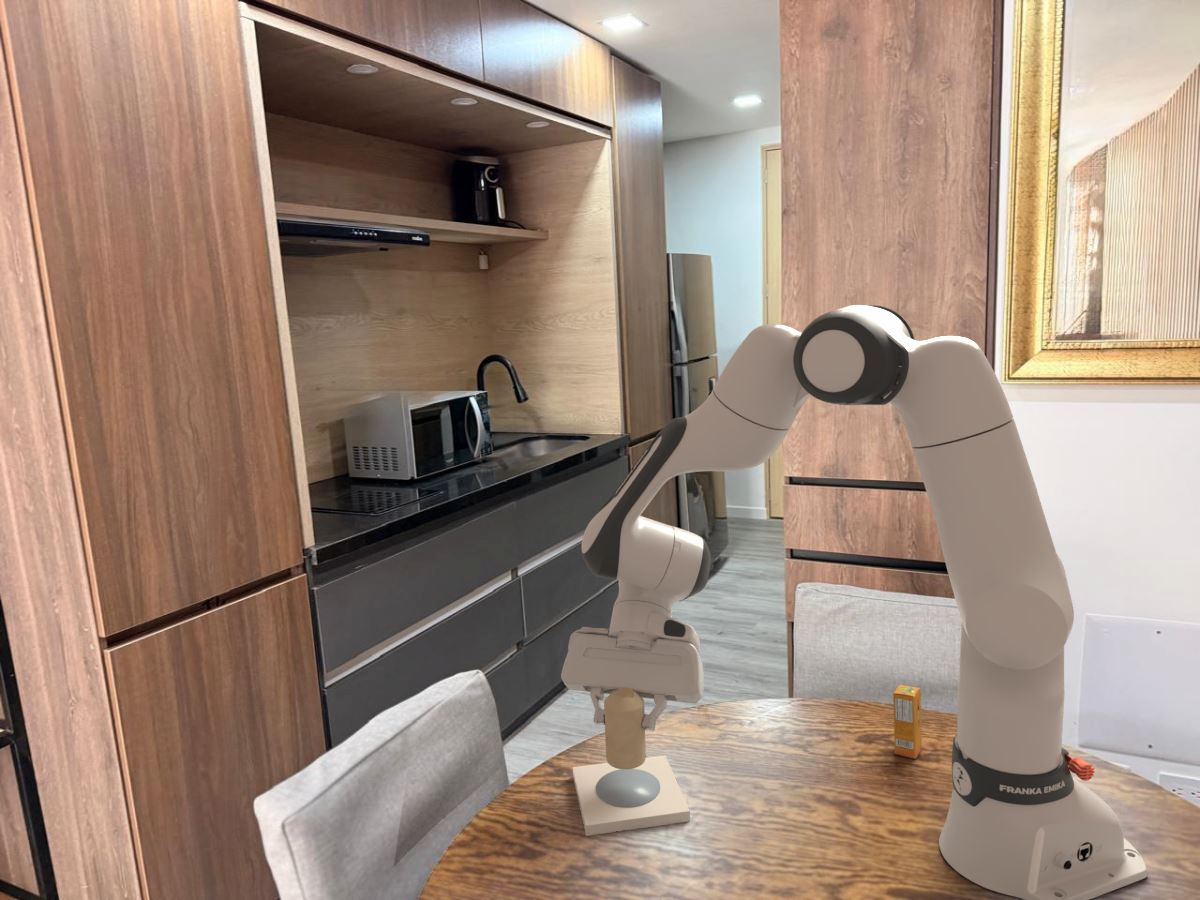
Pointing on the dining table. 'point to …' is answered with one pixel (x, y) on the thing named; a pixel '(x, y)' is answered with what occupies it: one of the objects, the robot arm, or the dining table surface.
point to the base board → (629, 796)
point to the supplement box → (907, 721)
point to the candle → (624, 729)
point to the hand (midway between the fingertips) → (623, 726)
